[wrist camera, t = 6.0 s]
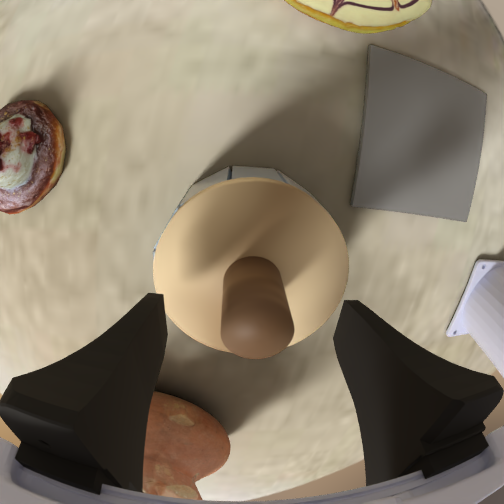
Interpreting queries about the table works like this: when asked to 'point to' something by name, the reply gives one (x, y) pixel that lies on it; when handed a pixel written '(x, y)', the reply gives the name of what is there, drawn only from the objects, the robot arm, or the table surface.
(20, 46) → the table surface
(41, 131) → the pastry
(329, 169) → the table surface
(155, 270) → the bamboo lid
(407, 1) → the decorated donut
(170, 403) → the ceramic jug
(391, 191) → the rubber mat
